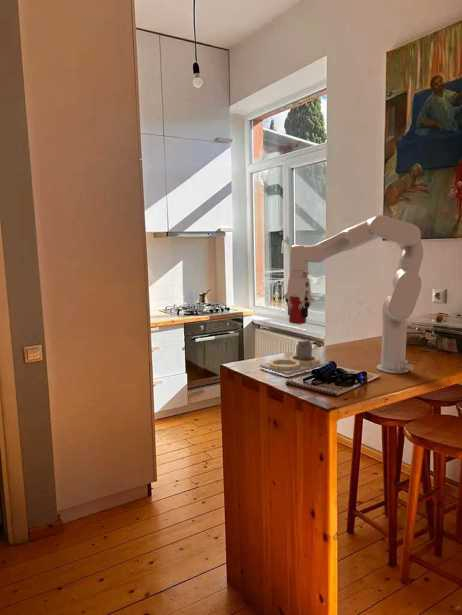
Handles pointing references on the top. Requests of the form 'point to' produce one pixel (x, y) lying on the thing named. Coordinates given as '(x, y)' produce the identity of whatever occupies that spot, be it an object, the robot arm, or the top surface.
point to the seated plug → (304, 351)
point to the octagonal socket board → (292, 365)
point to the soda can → (296, 311)
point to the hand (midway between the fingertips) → (297, 315)
